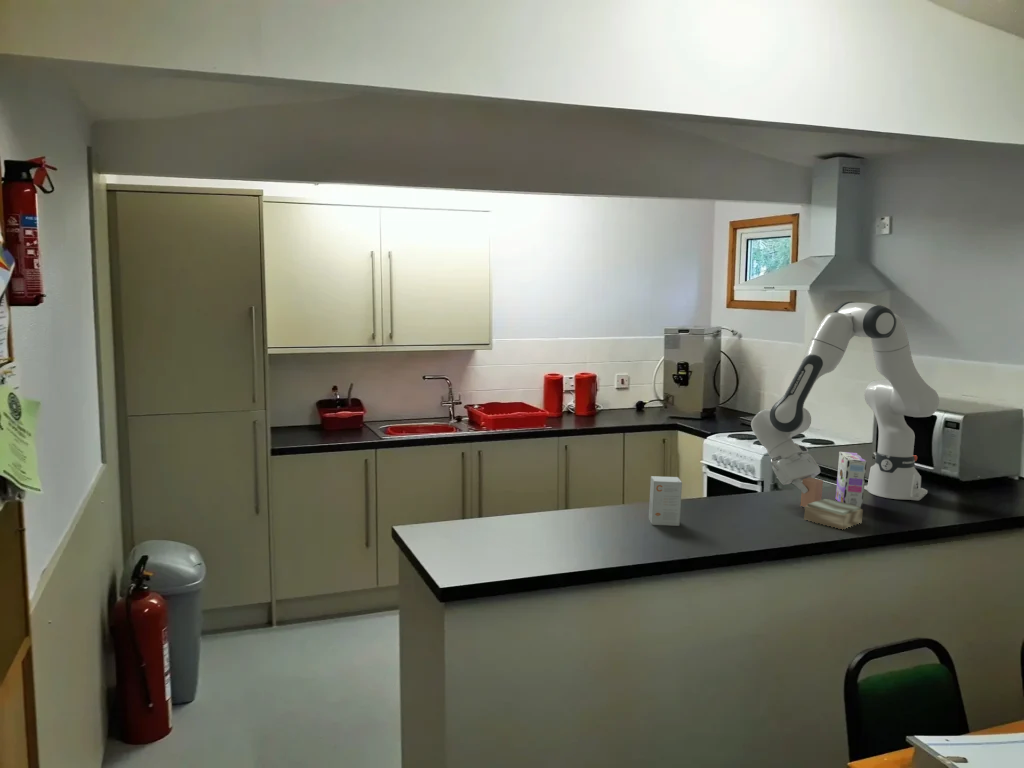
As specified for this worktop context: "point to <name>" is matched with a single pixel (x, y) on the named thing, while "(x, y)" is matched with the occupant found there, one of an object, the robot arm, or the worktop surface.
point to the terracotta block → (811, 491)
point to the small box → (665, 500)
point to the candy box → (850, 478)
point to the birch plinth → (833, 513)
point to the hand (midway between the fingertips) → (811, 490)
